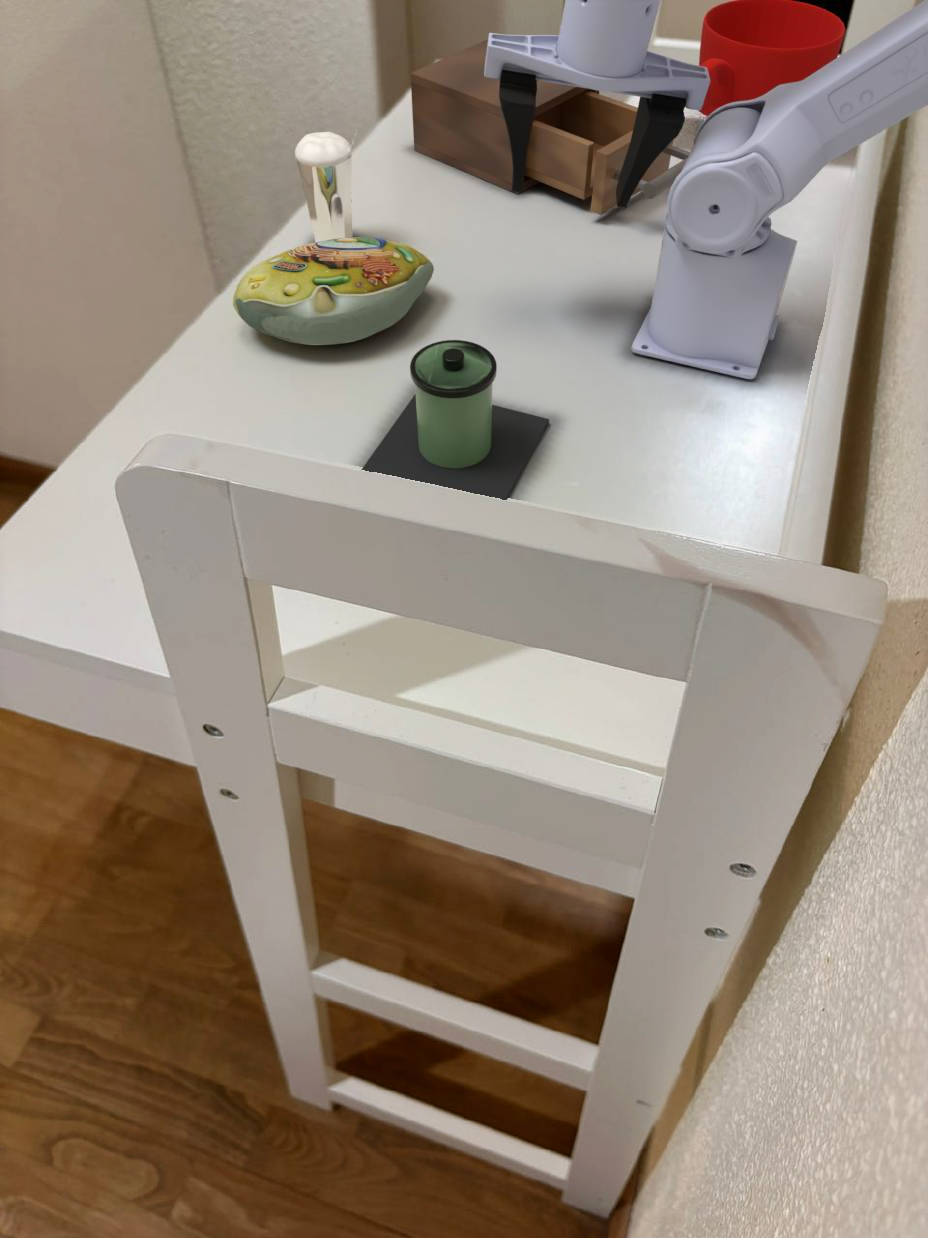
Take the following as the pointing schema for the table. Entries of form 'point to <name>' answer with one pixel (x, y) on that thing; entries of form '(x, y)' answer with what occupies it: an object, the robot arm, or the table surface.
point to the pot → (454, 402)
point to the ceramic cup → (764, 47)
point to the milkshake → (327, 183)
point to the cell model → (332, 290)
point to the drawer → (593, 150)
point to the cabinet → (471, 115)
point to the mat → (488, 477)
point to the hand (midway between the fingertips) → (569, 192)
